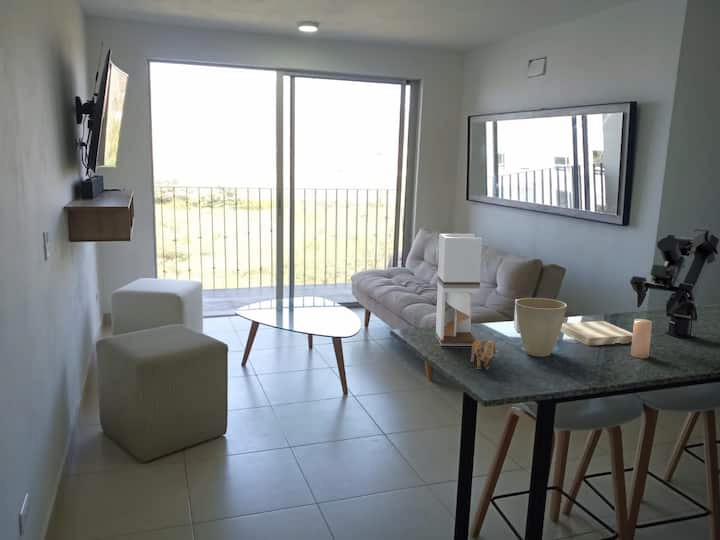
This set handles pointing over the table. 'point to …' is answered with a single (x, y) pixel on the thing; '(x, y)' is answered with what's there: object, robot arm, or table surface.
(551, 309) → the plant pot
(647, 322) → the peach capsule
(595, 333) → the birch base plate
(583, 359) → the table surface
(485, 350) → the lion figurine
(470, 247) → the white two-tier tower
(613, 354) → the table surface
